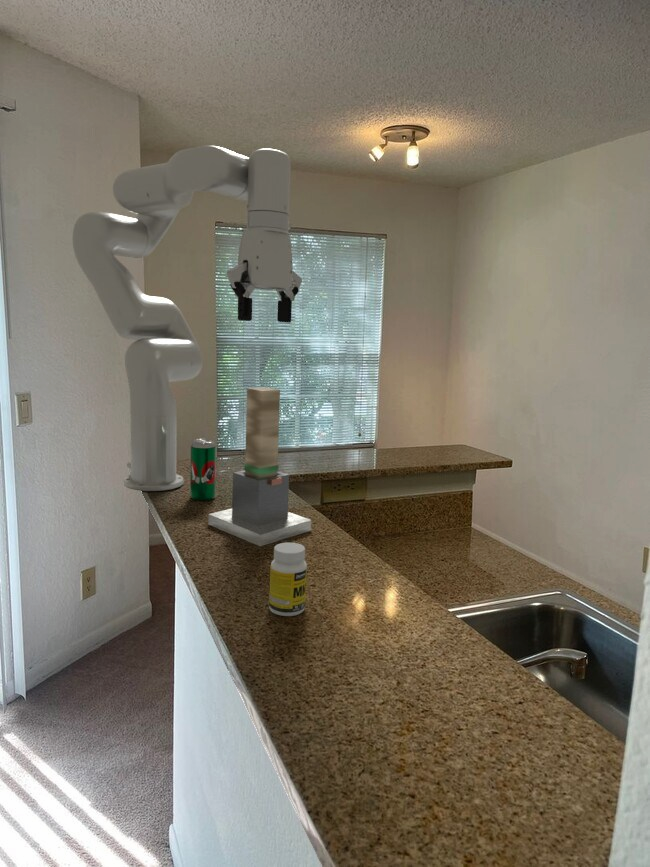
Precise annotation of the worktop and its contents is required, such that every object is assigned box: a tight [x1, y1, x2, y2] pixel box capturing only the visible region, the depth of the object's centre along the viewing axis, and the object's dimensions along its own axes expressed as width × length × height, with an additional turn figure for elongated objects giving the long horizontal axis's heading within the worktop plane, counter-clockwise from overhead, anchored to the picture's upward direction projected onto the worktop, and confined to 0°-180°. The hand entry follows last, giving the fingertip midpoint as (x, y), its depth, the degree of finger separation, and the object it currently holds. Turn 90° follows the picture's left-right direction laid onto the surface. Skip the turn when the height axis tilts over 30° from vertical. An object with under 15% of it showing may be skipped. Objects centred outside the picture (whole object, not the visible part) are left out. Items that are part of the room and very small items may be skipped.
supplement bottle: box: [268, 542, 308, 617], centre depth 81 cm, size 5×5×8 cm
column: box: [243, 386, 281, 479], centre depth 109 cm, size 4×4×16 cm
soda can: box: [189, 438, 217, 502], centre depth 127 cm, size 5×5×12 cm
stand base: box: [208, 470, 312, 547], centre depth 111 cm, size 14×12×10 cm
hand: (265, 321), depth 115 cm, fingers open, 9 cm apart
